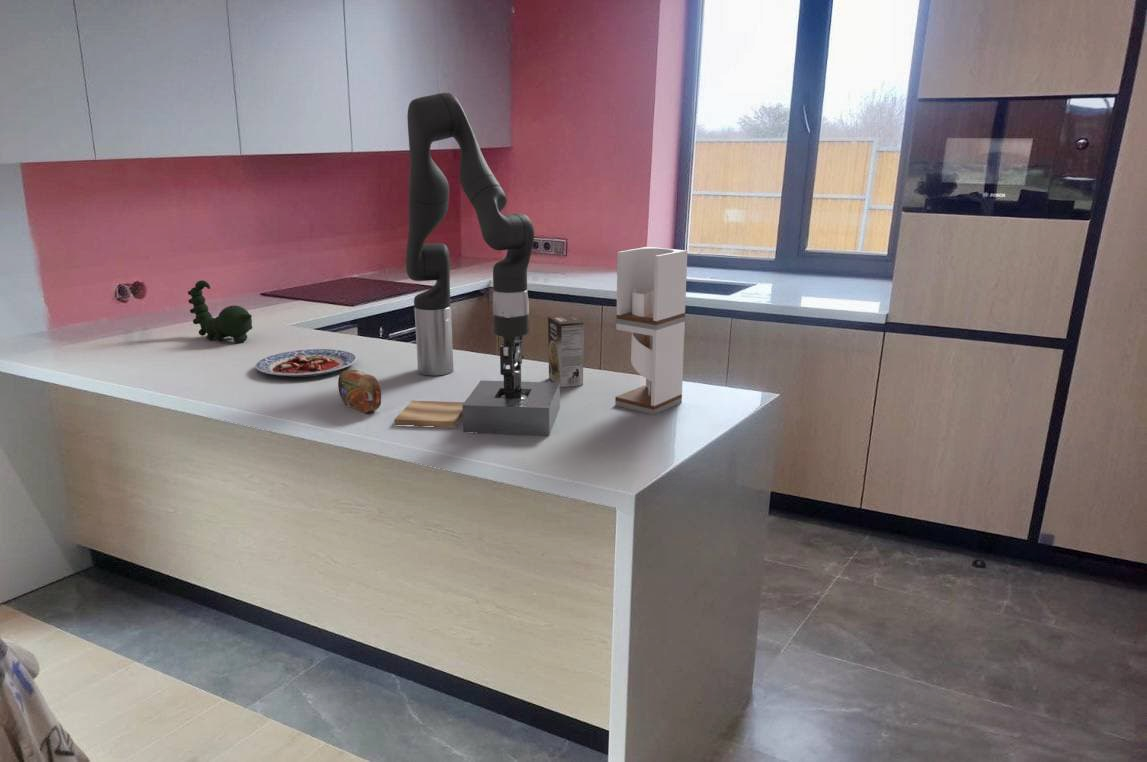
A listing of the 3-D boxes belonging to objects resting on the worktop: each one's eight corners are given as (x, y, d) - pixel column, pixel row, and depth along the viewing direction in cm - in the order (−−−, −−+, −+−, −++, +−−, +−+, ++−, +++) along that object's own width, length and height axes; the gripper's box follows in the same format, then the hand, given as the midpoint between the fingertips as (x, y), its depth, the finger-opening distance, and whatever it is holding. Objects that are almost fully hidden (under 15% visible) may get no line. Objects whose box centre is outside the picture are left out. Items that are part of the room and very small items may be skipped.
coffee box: (547, 378, 207) (547, 316, 202) (571, 375, 209) (571, 314, 205) (559, 387, 199) (559, 323, 194) (584, 385, 201) (584, 321, 196)
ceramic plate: (328, 385, 202) (327, 373, 201) (235, 379, 207) (234, 368, 206) (373, 359, 226) (372, 348, 225) (289, 354, 231) (288, 344, 230)
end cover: (502, 406, 179) (501, 366, 176) (529, 407, 178) (528, 367, 176) (497, 415, 173) (495, 374, 170) (525, 416, 172) (524, 375, 170)
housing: (481, 405, 186) (480, 380, 184) (559, 407, 184) (559, 382, 182) (463, 432, 168) (462, 405, 167) (549, 435, 167) (549, 407, 165)
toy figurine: (188, 344, 249) (243, 346, 237) (176, 282, 244) (231, 282, 232) (214, 338, 257) (269, 340, 245) (203, 278, 252) (258, 277, 240)
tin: (338, 402, 189) (335, 367, 186) (350, 399, 191) (347, 364, 188) (372, 417, 178) (369, 380, 176) (385, 413, 180) (382, 377, 178)
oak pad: (412, 406, 185) (412, 400, 184) (468, 408, 184) (468, 402, 183) (394, 426, 172) (394, 419, 172) (454, 428, 171) (454, 421, 171)
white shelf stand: (643, 393, 194) (647, 246, 184) (681, 402, 188) (687, 250, 178) (615, 405, 186) (617, 251, 176) (653, 414, 179) (658, 256, 169)
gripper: (499, 304, 177) (501, 377, 181) (486, 318, 163) (488, 396, 168) (533, 305, 176) (535, 377, 180) (523, 319, 162) (524, 397, 167)
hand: (512, 386), depth 174 cm, fingers open, 7 cm apart
